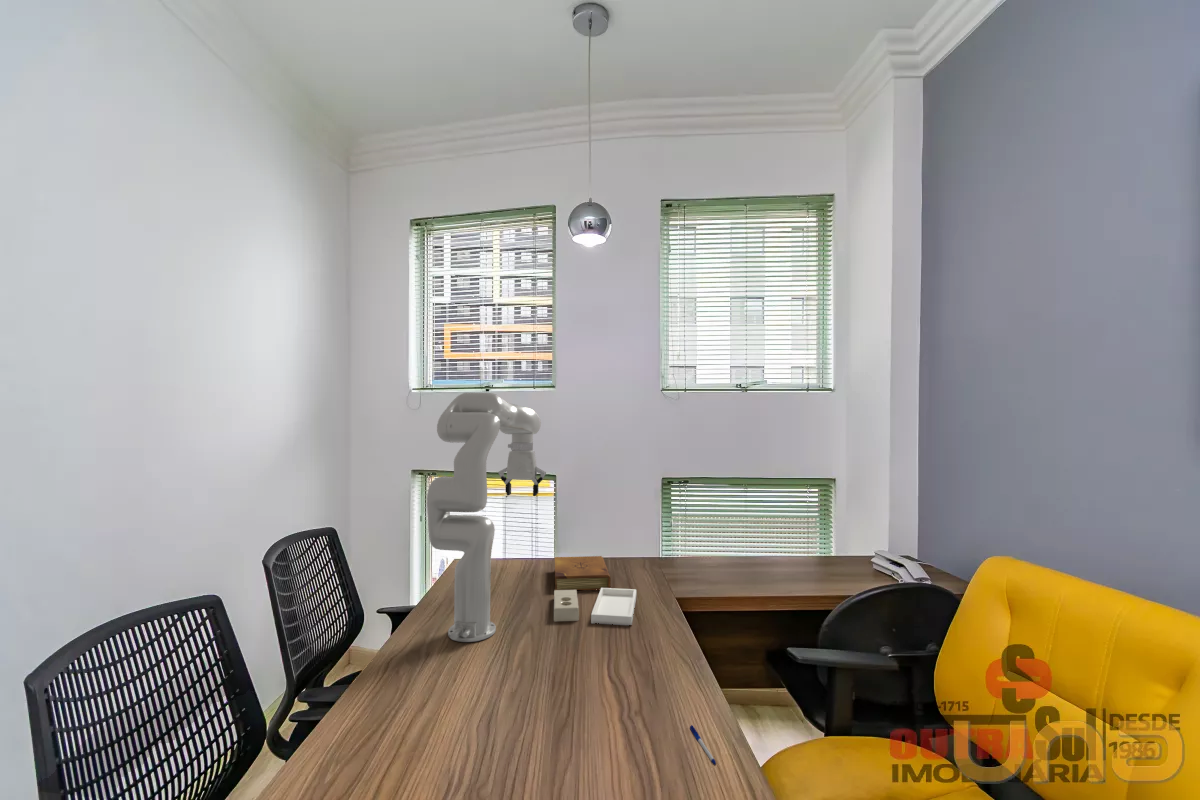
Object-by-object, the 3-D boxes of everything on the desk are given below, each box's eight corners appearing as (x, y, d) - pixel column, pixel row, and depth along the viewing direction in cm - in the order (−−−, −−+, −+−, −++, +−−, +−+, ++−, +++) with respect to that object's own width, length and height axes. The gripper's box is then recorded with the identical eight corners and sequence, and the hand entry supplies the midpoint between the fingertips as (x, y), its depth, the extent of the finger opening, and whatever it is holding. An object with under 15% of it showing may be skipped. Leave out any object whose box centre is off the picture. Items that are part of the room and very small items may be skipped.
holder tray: (631, 625, 144) (631, 616, 144) (591, 623, 146) (591, 614, 146) (636, 597, 166) (636, 589, 167) (601, 595, 168) (601, 587, 168)
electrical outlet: (576, 586, 165) (578, 607, 148) (576, 599, 165) (578, 622, 147) (554, 587, 165) (553, 608, 147) (554, 600, 165) (553, 622, 147)
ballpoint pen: (688, 729, 97) (688, 723, 97) (692, 728, 97) (692, 723, 98) (713, 766, 87) (713, 760, 87) (718, 765, 87) (718, 759, 87)
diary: (610, 592, 173) (610, 574, 173) (555, 593, 171) (555, 576, 171) (603, 570, 196) (603, 555, 196) (554, 571, 194) (554, 556, 194)
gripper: (495, 447, 181) (495, 496, 181) (543, 448, 179) (543, 497, 178) (502, 446, 188) (501, 493, 188) (548, 447, 186) (547, 494, 186)
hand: (521, 495), depth 183 cm, fingers open, 9 cm apart
